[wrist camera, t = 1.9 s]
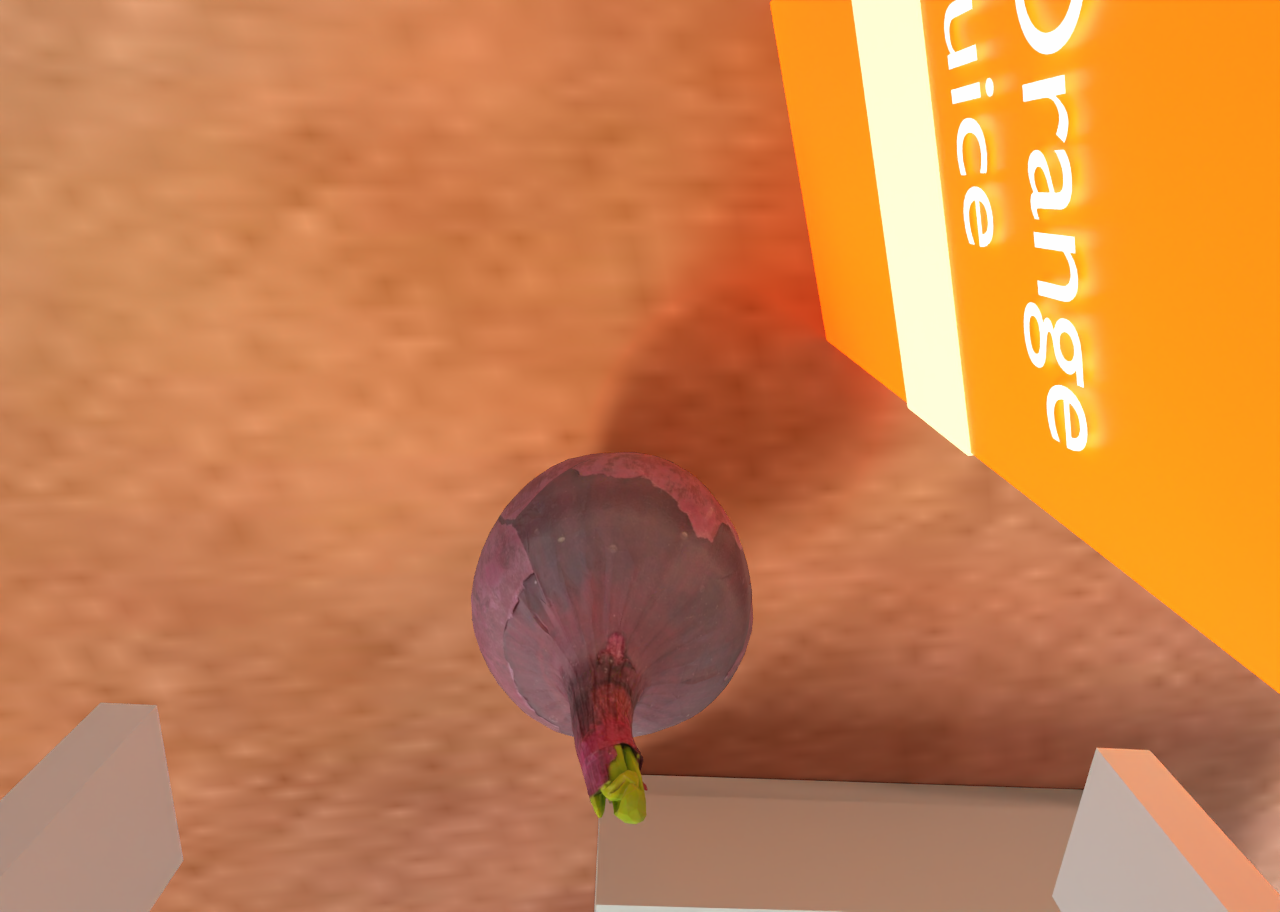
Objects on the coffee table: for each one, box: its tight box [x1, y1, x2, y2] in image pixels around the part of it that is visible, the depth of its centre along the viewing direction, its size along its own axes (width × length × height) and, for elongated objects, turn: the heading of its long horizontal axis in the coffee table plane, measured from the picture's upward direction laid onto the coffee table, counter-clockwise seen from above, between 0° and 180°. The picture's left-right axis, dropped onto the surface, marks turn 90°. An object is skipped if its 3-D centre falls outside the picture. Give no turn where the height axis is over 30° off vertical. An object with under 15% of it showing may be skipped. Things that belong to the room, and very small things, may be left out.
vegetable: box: [471, 452, 753, 824], centre depth 16 cm, size 6×6×10 cm
